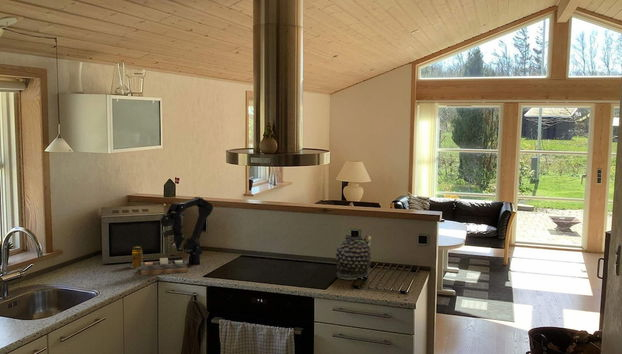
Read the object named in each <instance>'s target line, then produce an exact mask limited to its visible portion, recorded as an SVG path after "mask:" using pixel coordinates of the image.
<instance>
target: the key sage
mask: <svg viewBox="0 0 622 354" xmlns="http://www.w3.org/2000/svg"><path fill="white" fill-rule="evenodd" d="M182 260H183V259H179V260H177V259H175V260H174V261H175V264H178V263H183V261H182Z"/></svg>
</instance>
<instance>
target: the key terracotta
mask: <svg viewBox="0 0 622 354" xmlns="http://www.w3.org/2000/svg"><path fill="white" fill-rule="evenodd" d="M153 262H154V261H148V262H147V261H146V262H144V263H145V266H147V265H153Z"/></svg>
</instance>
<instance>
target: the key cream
mask: <svg viewBox="0 0 622 354" xmlns="http://www.w3.org/2000/svg"><path fill="white" fill-rule="evenodd" d="M168 261H169V259H168V257H160V258H159V262H160V265H162V264H168Z"/></svg>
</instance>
